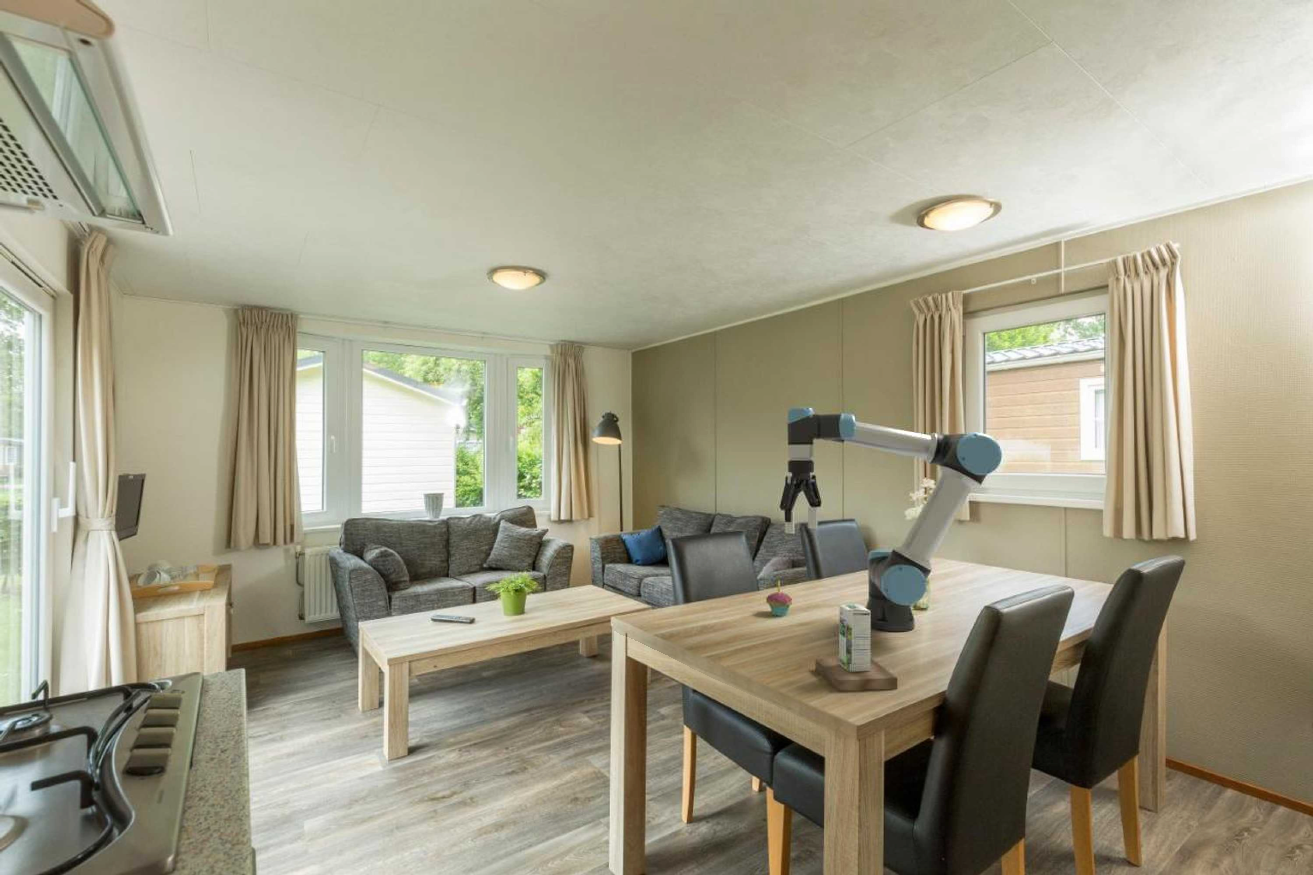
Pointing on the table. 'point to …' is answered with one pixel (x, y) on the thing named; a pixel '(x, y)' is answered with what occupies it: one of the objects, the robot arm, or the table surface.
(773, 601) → the cupcake
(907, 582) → the robot arm
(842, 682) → the walnut board
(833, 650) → the table surface
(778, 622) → the table surface
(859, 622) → the syrup box
